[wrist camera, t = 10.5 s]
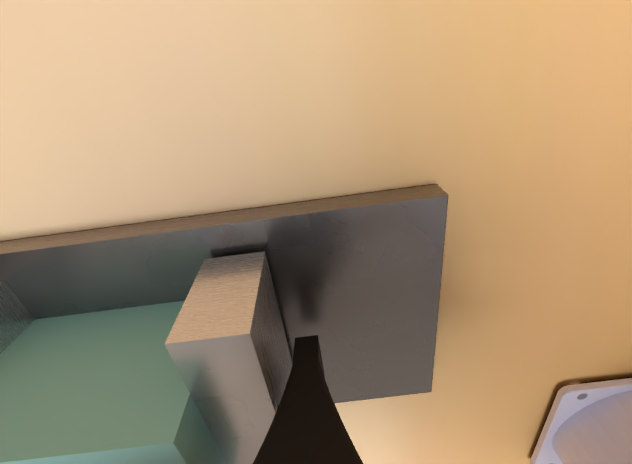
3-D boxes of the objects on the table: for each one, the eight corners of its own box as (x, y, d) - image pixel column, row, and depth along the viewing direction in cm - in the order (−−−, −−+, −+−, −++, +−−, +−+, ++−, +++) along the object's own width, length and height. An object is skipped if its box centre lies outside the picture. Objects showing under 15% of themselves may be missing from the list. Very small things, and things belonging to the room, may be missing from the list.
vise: (436, 183, 11) (513, 256, 7) (424, 373, 16) (465, 479, 12) (-71, 251, 11) (-270, 355, 7) (71, 414, 16) (-4, 530, 12)
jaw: (265, 251, 10) (249, 333, 7) (301, 400, 14) (301, 494, 11) (204, 259, 10) (164, 344, 7) (257, 405, 14) (245, 500, 11)
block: (222, 295, 11) (173, 443, 7) (250, 375, 14) (225, 525, 9) (35, 319, 12) (-124, 476, 7) (92, 394, 14) (-4, 549, 9)
